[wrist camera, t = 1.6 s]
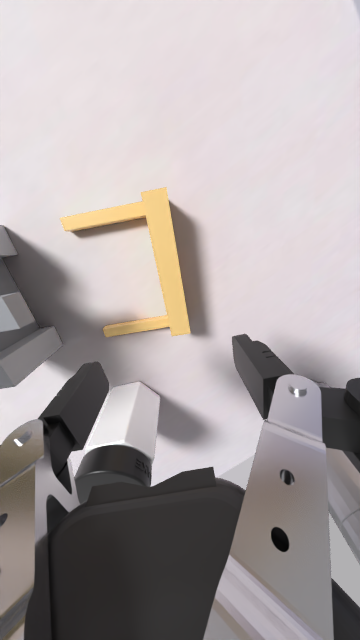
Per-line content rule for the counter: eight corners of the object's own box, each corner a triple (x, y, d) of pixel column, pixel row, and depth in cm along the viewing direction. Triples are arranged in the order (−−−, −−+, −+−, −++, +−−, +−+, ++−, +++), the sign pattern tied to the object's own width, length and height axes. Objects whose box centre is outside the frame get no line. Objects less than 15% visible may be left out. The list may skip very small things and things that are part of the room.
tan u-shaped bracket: (168, 199, 18) (166, 187, 15) (188, 319, 24) (190, 333, 20) (66, 219, 19) (39, 212, 15) (108, 333, 24) (96, 348, 20)
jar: (152, 423, 31) (140, 519, 20) (106, 414, 30) (67, 511, 19) (165, 386, 28) (158, 476, 17) (114, 375, 27) (72, 464, 16)
